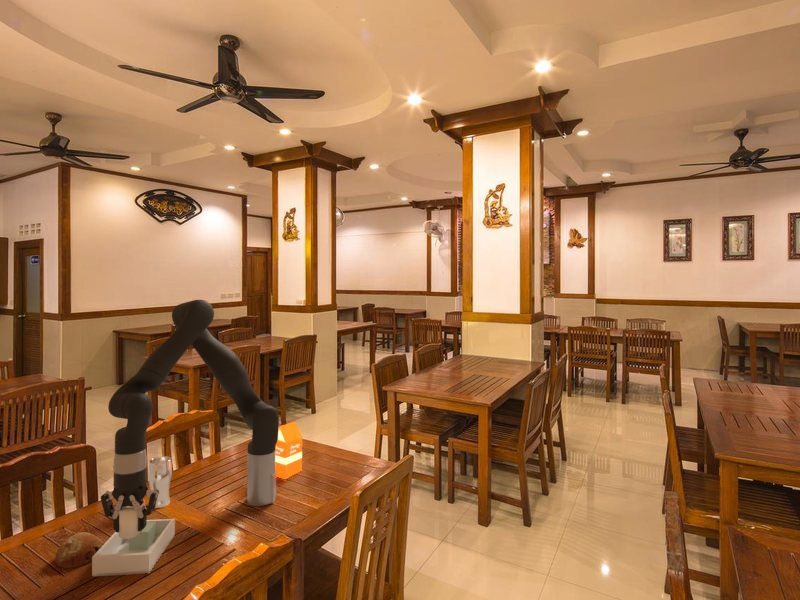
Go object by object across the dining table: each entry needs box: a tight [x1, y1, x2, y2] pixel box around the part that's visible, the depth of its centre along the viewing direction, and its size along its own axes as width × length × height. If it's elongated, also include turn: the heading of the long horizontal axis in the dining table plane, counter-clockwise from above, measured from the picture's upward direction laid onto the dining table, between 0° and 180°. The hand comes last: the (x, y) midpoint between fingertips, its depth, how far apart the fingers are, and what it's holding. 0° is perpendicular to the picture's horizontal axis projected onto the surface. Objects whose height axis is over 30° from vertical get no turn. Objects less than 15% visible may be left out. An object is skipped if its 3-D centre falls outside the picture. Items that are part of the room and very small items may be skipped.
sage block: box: [129, 522, 156, 551], centre depth 127 cm, size 5×5×5 cm
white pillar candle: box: [119, 506, 141, 539], centre depth 120 cm, size 5×5×7 cm
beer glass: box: [147, 455, 173, 509], centre depth 152 cm, size 7×7×15 cm
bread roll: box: [54, 531, 105, 569], centre depth 122 cm, size 10×10×8 cm
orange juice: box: [275, 421, 303, 480], centre depth 177 cm, size 8×9×20 cm
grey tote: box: [91, 518, 176, 577], centre depth 124 cm, size 14×18×5 cm
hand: (130, 530), depth 120 cm, fingers closed on white pillar candle, 5 cm apart
